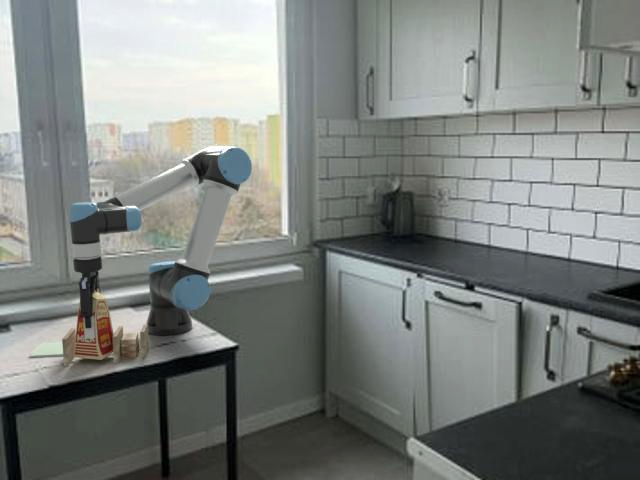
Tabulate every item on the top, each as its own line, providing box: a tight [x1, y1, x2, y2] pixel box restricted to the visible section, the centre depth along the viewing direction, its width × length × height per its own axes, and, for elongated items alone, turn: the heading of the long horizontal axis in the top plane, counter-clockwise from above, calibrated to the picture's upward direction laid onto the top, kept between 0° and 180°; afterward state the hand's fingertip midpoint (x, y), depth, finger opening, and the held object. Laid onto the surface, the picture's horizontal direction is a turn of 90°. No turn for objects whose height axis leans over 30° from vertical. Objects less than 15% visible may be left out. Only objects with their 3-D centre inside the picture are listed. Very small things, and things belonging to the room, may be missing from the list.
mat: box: [28, 341, 63, 359], centre depth 183 cm, size 11×11×1 cm
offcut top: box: [121, 332, 139, 347], centre depth 179 cm, size 4×6×2 cm, turn 10°
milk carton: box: [73, 289, 115, 361], centre depth 174 cm, size 9×9×20 cm
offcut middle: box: [121, 338, 141, 353], centre depth 179 cm, size 4×6×2 cm, turn 6°
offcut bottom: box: [121, 345, 141, 359], centre depth 179 cm, size 4×6×2 cm, turn 6°
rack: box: [61, 324, 150, 367], centre depth 176 cm, size 22×10×8 cm, turn 99°
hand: (93, 332), depth 174 cm, fingers closed on milk carton, 8 cm apart
